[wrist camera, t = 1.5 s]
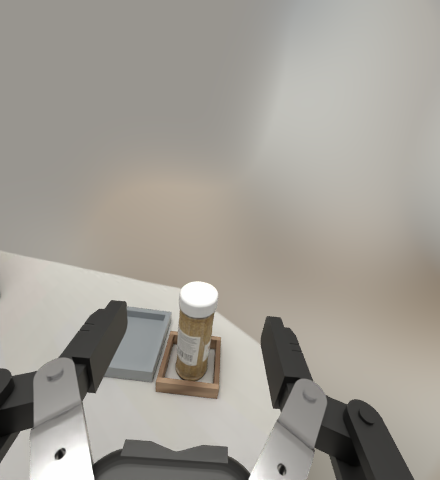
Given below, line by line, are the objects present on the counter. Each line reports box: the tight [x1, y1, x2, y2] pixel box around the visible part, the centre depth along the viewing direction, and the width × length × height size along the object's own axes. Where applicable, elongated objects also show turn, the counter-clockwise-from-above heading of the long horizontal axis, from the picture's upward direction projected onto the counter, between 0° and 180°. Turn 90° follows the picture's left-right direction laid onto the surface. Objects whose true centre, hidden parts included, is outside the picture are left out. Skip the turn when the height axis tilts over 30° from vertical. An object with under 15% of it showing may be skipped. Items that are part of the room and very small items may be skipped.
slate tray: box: [104, 307, 172, 382], centre depth 33 cm, size 11×11×2 cm
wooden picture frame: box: [156, 331, 221, 399], centre depth 31 cm, size 8×8×2 cm
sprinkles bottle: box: [176, 282, 218, 381], centre depth 29 cm, size 5×5×13 cm
